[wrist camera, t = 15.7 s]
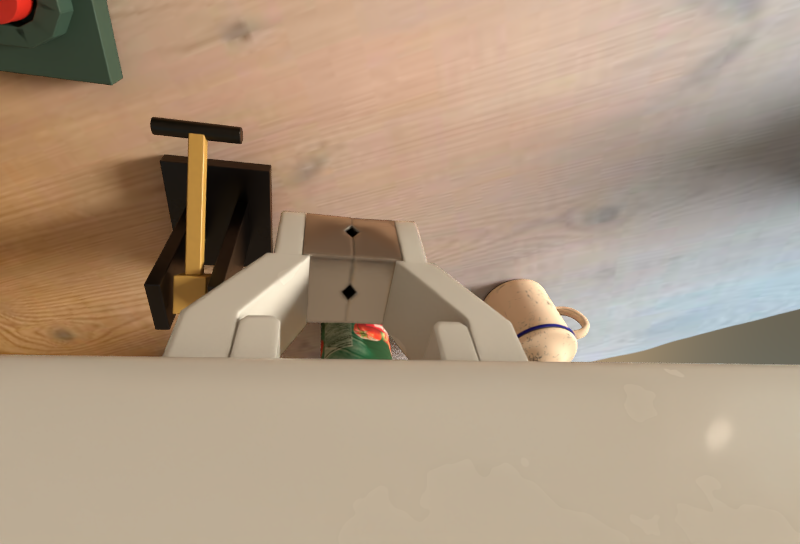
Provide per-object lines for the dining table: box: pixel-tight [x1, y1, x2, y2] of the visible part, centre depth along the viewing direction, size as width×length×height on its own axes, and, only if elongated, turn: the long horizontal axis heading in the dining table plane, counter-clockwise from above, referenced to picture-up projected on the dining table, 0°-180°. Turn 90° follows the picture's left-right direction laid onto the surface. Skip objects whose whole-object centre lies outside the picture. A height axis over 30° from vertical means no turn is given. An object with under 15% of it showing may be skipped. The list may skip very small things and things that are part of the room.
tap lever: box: [150, 117, 243, 314], centre depth 31 cm, size 14×6×2 cm
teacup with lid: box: [484, 279, 589, 362], centre depth 50 cm, size 12×9×12 cm
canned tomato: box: [321, 323, 392, 360], centre depth 47 cm, size 8×8×11 cm
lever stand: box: [144, 155, 273, 330], centre depth 35 cm, size 11×9×14 cm
